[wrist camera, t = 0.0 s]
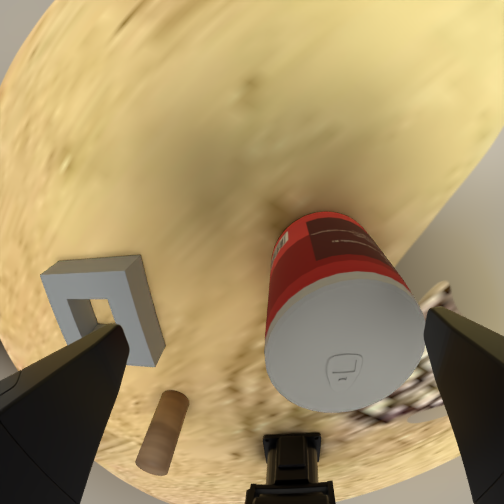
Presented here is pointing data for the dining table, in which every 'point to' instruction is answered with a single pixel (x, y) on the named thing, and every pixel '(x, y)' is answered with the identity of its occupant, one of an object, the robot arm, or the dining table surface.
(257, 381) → the dining table surface
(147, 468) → the long pin
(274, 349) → the canned food
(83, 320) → the socket block
